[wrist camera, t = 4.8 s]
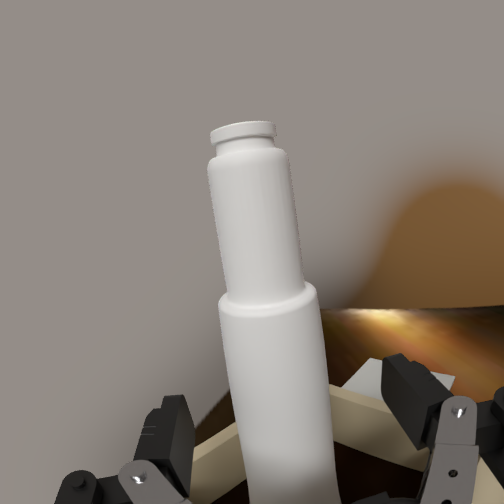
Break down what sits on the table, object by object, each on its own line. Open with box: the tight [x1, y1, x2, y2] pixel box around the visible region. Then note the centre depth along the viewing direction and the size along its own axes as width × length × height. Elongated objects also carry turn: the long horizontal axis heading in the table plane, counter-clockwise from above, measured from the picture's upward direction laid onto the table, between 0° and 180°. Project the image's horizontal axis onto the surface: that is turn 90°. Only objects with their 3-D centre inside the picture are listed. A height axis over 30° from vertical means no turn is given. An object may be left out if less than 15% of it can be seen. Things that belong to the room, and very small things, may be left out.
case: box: [184, 384, 430, 504], centre depth 15 cm, size 16×15×6 cm
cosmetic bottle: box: [207, 121, 342, 504], centre depth 13 cm, size 6×6×22 cm
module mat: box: [341, 358, 455, 401], centre depth 25 cm, size 10×10×1 cm
